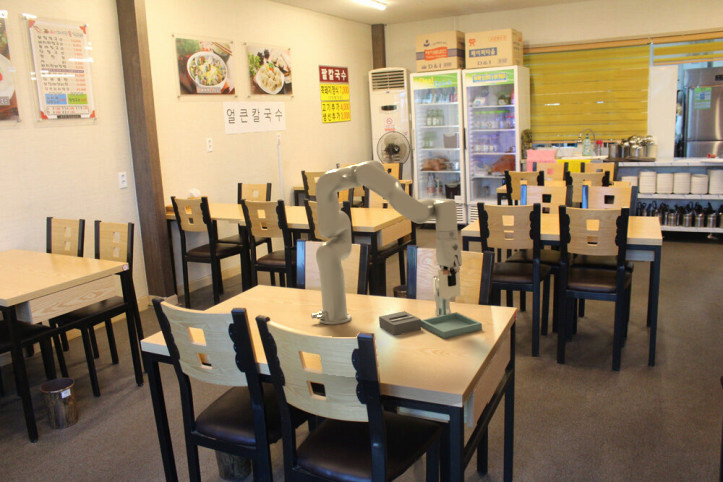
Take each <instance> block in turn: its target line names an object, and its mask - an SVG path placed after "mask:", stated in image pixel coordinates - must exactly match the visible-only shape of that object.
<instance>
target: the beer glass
mask: <svg viewBox="0 0 723 482" xmlns="http://www.w3.org/2000/svg"><path fill="white" fill-rule="evenodd" d="M432 290H433V291H432V292H433V296H434V301H435V316H442V315H446V314H451V313H452V312H451V307H450V303H451V297H450V298H446V299H443V298H441V297H440V296H439V277H438V274H436V275H434V276H433V277H432Z"/></svg>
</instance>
